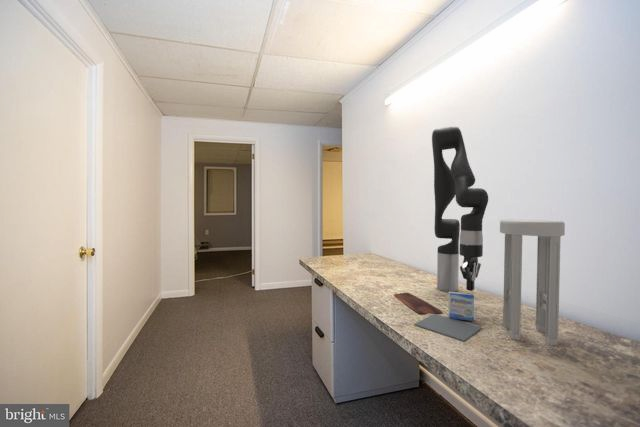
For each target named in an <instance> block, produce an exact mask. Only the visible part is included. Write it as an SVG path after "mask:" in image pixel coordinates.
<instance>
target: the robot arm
mask: <svg viewBox="0 0 640 427" xmlns="http://www.w3.org/2000/svg"><path fill="white" fill-rule="evenodd" d="M464 141H465V140H464V137H463V134H462V131H461V129H460V128H459V127H458V126H456V125H453V126H452V125H451V126H446V127H445V126H444V127H439V128H435V129H433V131H432V133H431V147H432V154H433V155H432V157H433V170H434V172H433V177H434V178H433V190H434V235H435V237H436V238H437V239H451V241H449V242H448V243H446V244H442V245H439V246H438V247H437V261H436V262H437V263H436V264H437V265H436V266H437V267H436V268H437V269H436V270H437V271H436V272H437V274H436V277H437V278H436V288H437V290H439V291H442V292H448V293H449V292H458V291H459V270H460V272H461V275H462V278H463V279H464V280H466V285H465V286H466V291H470V292H472V291H475V281H476V278H478V276H479V272H480V270H481V269H480V268H481V267H482V266H481V265H482V264H481V262H480V263H479V258H481V257H483V250H484V249H483V248H484V246H483V245H484V238H483V237H484V235H483V219H484V215H485V214H486V213H485V212H486V209H487V206H488V204H489V194H488V192H487V191H486V190H485V189H484V188H479V187H478V188H477V187H476V188H473V186H474V184H475V183H476V177H475V175H474V172H473V170H472V167H471V166H470V163H469V159H468V156H467V155H468V154H467V150H466V146H465V142H464ZM451 149H454V150H455V155H454V158H453V160H452V162H451V165H450V166H448V164H447V163H446V161H445V158H444V155H443V151H445V150H451ZM454 198H455V202H456V204H457V205H458V206H460V207H461V208H472V210H471V211H470V212H469V213H465V214H463V215H461V217H460V221H459V219H456V218H454V219H453V218H443V214H444V213H445V211H446V210H447V208H448V206H449V205H450V204H451V202H452V201H453V200H454ZM460 256H462V257H463V260H462V265H460V264H459V262H460V258H459V257H460Z"/></svg>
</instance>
